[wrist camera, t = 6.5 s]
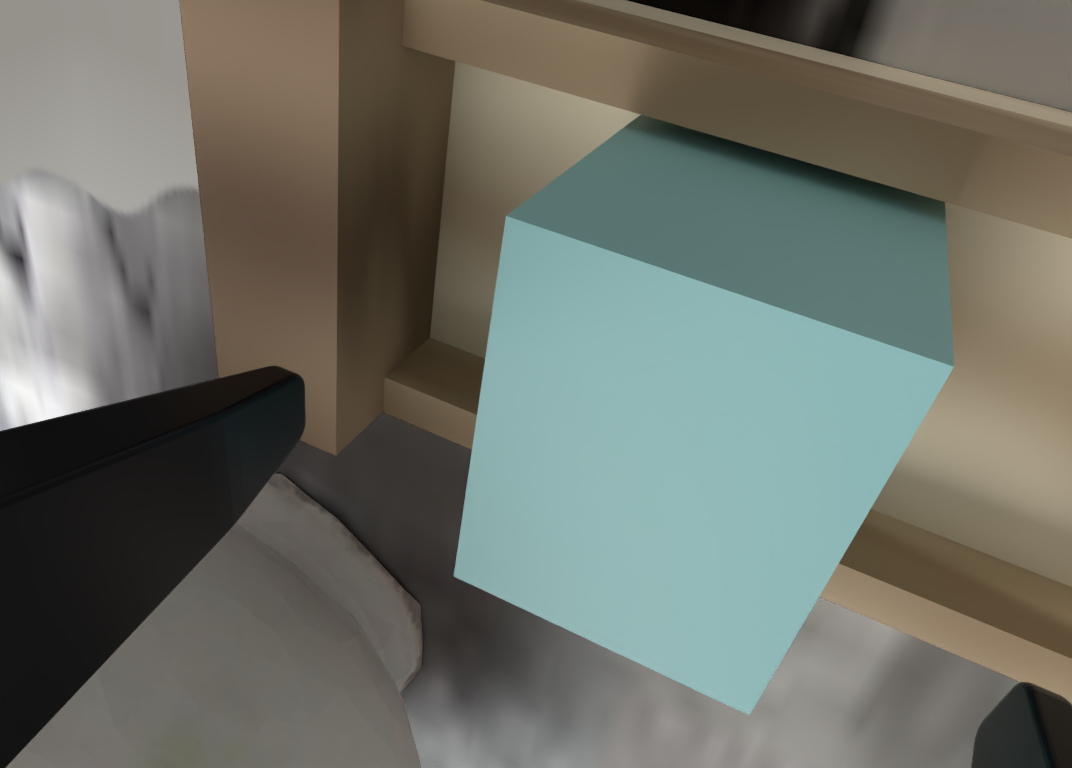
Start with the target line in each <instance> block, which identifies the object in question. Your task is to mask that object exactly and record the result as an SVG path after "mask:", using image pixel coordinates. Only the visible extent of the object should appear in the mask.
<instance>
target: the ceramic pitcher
mask: <svg viewBox="0 0 1072 768" xmlns="http://www.w3.org/2000/svg"><path fill="white" fill-rule="evenodd" d="M422 648H423V643H422V625H421V605H420V604H419V603H418V602H417V601H416V600H415V599H414V598H413V597H412V596H411V595H410V594H409V593H408V592H407V591H406V590H405V589H404V588H403V587H402V586H401V585H400V584H399V583H398V582H397V581H396V580H395V579H394V578H393V577H392V576H391V574H390V573H389V572H388V571H387V570H386V569H385V568H384V567H383V566H382V565H381V564H380V563H379V562H378V560H377V559H376V558H375V557H374V556H373V555H372V554H371V553H370V552H369V551H368V550H367V549H366V548H365V547H364V546H363V544H362V543H361V542H360V541H359V540H358V539H357V538H356V537H355V536H354V535H353V534H352V533H351V532H350V531H349V530H348V529H347V528H346V527H345V526H344V525H343V524H342V523H341V522H340V521H339V520H338V519H337V518H336V517H335V516H333V515H332V514H331V513H330V512H328V511H327V510H326V509H324V508H323V507H322V506H321V505H319V504H318V503H317V502H316V501H314V500H313V499H312V498H310V497H309V496H308V495H307V494H305V493H304V492H303V491H302V490H301V489H299V488H298V487H297V486H296V485H295V484H293V483H292V482H291V481H290V480H289V479H287V478H286V477H285V476H284V475H283V474H276V473H274V474H273V476H272V477H271V478H270V480H269V481H268V482H267V484H266V485H265V486H264V488H263V489H262V490H261V492H260V493H259V494H258V495H257V497H256V498H255V499H254V501H253V502H252V503H251V505H250V506H249V507H248V509H247V510H246V511H245V512H244V514H243V515H242V516H241V517H240V519H239V520H238V521H237V522H236V524H235V525H234V526H233V527H232V528H231V529H230V530H229V531H228V533H227V534H226V535H225V536H224V537H223V538H222V539H221V540H220V541H219V542H218V543H217V544H216V545H215V547H214V548H213V549H212V550H211V551H210V552H209V553H208V554H207V555H206V556H205V557H204V558H203V559H202V560H201V561H200V562H199V563H198V565H197V566H196V567H195V568H194V569H193V570H192V571H191V572H190V573H189V574H188V575H187V576H186V577H185V578H184V579H183V580H182V582H181V583H180V584H179V585H178V586H177V587H176V588H175V589H174V590H173V591H172V592H171V593H170V594H169V595H168V596H167V597H166V598H165V600H164V601H163V602H162V603H161V604H160V605H159V606H158V607H157V608H156V609H155V610H154V611H153V612H152V613H151V614H150V615H149V616H148V618H147V619H146V620H145V621H144V622H143V623H142V624H141V625H140V626H139V627H138V628H137V629H136V630H135V631H134V632H133V633H132V634H131V636H130V637H129V638H128V639H127V640H126V641H125V642H124V643H123V644H122V645H121V646H120V647H119V648H118V649H117V650H116V651H115V653H114V654H113V655H112V656H111V657H110V658H109V659H108V660H107V661H106V662H105V663H104V664H103V665H102V666H101V667H100V668H99V669H98V671H97V672H96V673H95V674H94V675H93V676H92V677H91V678H90V679H89V680H88V681H87V682H86V683H85V684H84V685H83V686H82V687H81V689H80V690H79V691H78V692H77V693H76V694H75V695H74V696H73V697H72V698H71V699H70V700H69V701H68V702H67V703H66V704H65V705H64V707H63V708H62V709H61V710H60V711H59V712H58V713H57V714H56V715H55V716H54V717H53V718H52V719H51V720H50V721H49V722H48V723H47V725H46V726H45V727H44V728H43V729H42V730H41V731H40V732H39V733H38V734H37V735H36V736H35V737H34V738H33V739H32V740H31V742H30V743H29V744H28V745H27V746H26V747H25V748H24V749H23V750H22V751H21V752H20V753H19V754H18V755H17V756H16V757H15V758H14V760H13V761H12V762H11V763H10V764H9V765H8V766H7V767H6V768H421V764H420V760H419V756H418V752H417V749H416V745H415V741H414V738H413V734H412V731H411V727H410V723H409V720H408V716H407V713H406V709H405V705H404V702H403V699H402V697H401V695H400V694H401V692H402V691H403V690H404V688H405V687H406V686H407V685H408V683H409V682H410V681H411V680H412V679H413V677H414V676H415V675H416V674H417V673H418V671H419V670H420V669H421V667H422Z"/></svg>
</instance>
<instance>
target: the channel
mask: <svg viewBox="0 0 1072 768" xmlns="http://www.w3.org/2000/svg"><path fill="white" fill-rule="evenodd" d="M179 2H180V11H181V21H182V30H183V40H184V50H185V59H186V69H187V78H188V88H189V97H190V107H191V117H192V125H193V136H194V145H195V155H196V164H197V173H198V184H199V193H200V203H201V212H202V222H203V231H204V241H205V250H206V260H207V270H208V279H209V289H210V298H211V308H212V317H213V327H214V336H215V346H216V356H217V365H218V375H219V378H222V377H226V376H230V375H234V374H238V373H242V372H247V371H251V370H255V369H259V368H263V367H267V366H272V365H275V366H280V367H282V368H285V369H287V370H290V371H292V372H294V373H297V374H299V375H300V376H301V377H302V378H303V380H304V383H305V409H306V425H305V429H304V432H303V435H302V437H301V438H300V440H301V441H303V442H305V443H307V444H310V445H312V446H314V447H316V448H319V449H321V450H323V451H325V452H328V453H330V454H332V455H334V456H337V455H338V454H339V453H340V452H341V451H342V450H343V449H344V448H345V447H346V446H347V445H348V444H350V443H351V442H352V441H353V440H354V439H355V438H356V437H357V436H358V435H359V434H360V433H361V432H362V431H363V430H364V429H365V428H366V427H368V426H369V425H370V424H371V423H372V422H373V421H374V420H375V419H376V418H377V417H378V416H379V415H380V414H381V413H382V412H384V413H386V414H388V415H391V416H393V417H395V418H398V419H400V420H403V421H405V422H407V423H410V424H412V425H414V426H417V427H419V428H421V429H424V430H426V431H429V432H431V433H433V434H436V435H438V436H440V437H443V438H445V439H448V440H450V441H452V442H455V443H457V444H459V445H462V446H464V447H466V448H469V449H471V450H472V446H473V439H474V433H475V426H476V419H477V412H478V405H479V398H480V391H481V384H482V378H483V371H484V364H485V357H486V350H487V343H488V336H489V330H490V323H491V316H492V309H493V302H494V295H495V288H496V281H497V275H498V268H499V261H500V254H501V247H502V240H503V233H504V227H505V220H506V216H507V215H508V214H509V213H511V212H512V211H513V210H515V209H516V208H517V207H519V206H520V205H521V204H523V203H524V202H525V201H527V200H528V199H529V198H531V197H532V196H533V195H535V194H536V193H537V192H539V191H540V190H541V189H543V188H544V187H545V186H547V185H548V184H549V183H551V182H552V181H553V180H554V179H556V178H557V177H558V176H560V175H561V174H562V173H564V172H565V171H566V170H568V169H569V168H570V167H572V166H573V165H574V164H576V163H577V162H578V161H580V160H581V159H582V158H584V157H585V156H586V155H588V154H589V153H590V152H592V151H593V150H594V149H596V148H597V147H598V146H600V145H601V144H602V143H604V142H605V141H606V140H608V139H609V138H610V137H612V136H613V135H614V134H616V133H617V132H618V131H620V130H621V129H622V128H624V127H625V126H626V125H628V124H629V123H630V122H632V121H633V120H634V119H636V118H637V117H638V116H640V115H644V116H648V117H651V118H655V119H658V120H662V121H665V122H669V123H672V124H676V125H679V126H683V127H686V128H690V129H693V130H696V131H700V132H703V133H707V134H710V135H714V136H717V137H721V138H724V139H728V140H731V141H735V142H738V143H742V144H745V145H749V146H752V147H755V148H759V149H762V150H766V151H769V152H773V153H776V154H780V155H783V156H787V157H790V158H794V159H797V160H801V161H804V162H808V163H811V164H815V165H818V166H821V167H825V168H828V169H832V170H835V171H839V172H842V173H846V174H849V175H853V176H856V177H860V178H863V179H867V180H870V181H874V182H877V183H880V184H884V185H887V186H891V187H894V188H898V189H901V190H905V191H908V192H912V193H915V194H919V195H922V196H926V197H929V198H933V199H936V200H939V201H943V202H945V212H946V230H947V248H948V266H949V284H950V302H951V320H952V339H953V357H954V368H953V369H952V371H951V373H950V375H949V376H948V378H947V380H946V381H945V383H944V385H943V386H942V388H941V390H940V392H939V393H938V395H937V397H936V398H935V400H934V402H933V404H932V405H931V407H930V409H929V410H928V412H927V414H926V415H925V417H924V419H923V421H922V422H921V424H920V426H919V427H918V429H917V431H916V432H915V434H914V436H913V438H912V439H911V441H910V443H909V444H908V446H907V448H906V449H905V451H904V453H903V455H902V456H901V458H900V460H899V461H898V463H897V465H896V467H895V468H894V470H893V472H892V473H891V475H890V477H889V478H888V480H887V482H886V484H885V485H884V487H883V489H882V490H881V492H880V494H879V495H878V497H877V499H876V501H875V502H874V504H873V506H872V507H871V509H870V511H869V512H868V514H867V516H866V518H865V519H864V521H863V523H862V524H861V526H860V528H859V530H858V531H857V533H856V535H855V536H854V538H853V540H852V541H851V543H850V545H849V547H848V548H847V550H846V552H845V553H844V555H843V557H842V558H841V560H840V562H839V564H838V565H837V567H836V569H835V570H834V572H833V574H832V576H831V577H830V579H829V581H828V582H827V584H826V586H825V587H824V589H823V591H822V593H821V594H820V596H819V597H821V598H824V599H826V600H828V601H831V602H833V603H835V604H838V605H840V606H843V607H845V608H847V609H850V610H852V611H854V612H857V613H859V614H861V615H864V616H866V617H869V618H871V619H873V620H876V621H878V622H880V623H883V624H885V625H887V626H890V627H892V628H895V629H897V630H899V631H902V632H904V633H906V634H909V635H911V636H914V637H916V638H918V639H921V640H923V641H925V642H928V643H930V644H932V645H935V646H937V647H940V648H942V649H944V650H947V651H949V652H951V653H954V654H956V655H958V656H961V657H963V658H966V659H968V660H970V661H973V662H975V663H977V664H980V665H982V666H984V667H987V668H989V669H992V670H994V671H996V672H999V673H1001V674H1003V675H1006V676H1008V677H1010V678H1013V679H1015V680H1018V681H1020V682H1030V683H1033V684H1035V685H1037V686H1040V687H1042V688H1044V689H1047V690H1049V691H1052V692H1054V693H1056V694H1059V695H1061V696H1062V697H1064V698H1066V699H1067V700H1068V701H1069V702H1070V703H1072V112H1068V111H1064V110H1060V109H1056V108H1052V107H1048V106H1044V105H1040V104H1036V103H1032V102H1028V101H1024V100H1020V99H1016V98H1012V97H1008V96H1004V95H1000V94H996V93H992V92H989V91H985V90H981V89H977V88H973V87H969V86H965V85H961V84H957V83H953V82H949V81H945V80H941V79H937V78H933V77H929V76H925V75H921V74H917V73H913V72H909V71H905V70H901V69H897V68H893V67H889V66H885V65H881V64H877V63H873V62H869V61H865V60H861V59H857V58H853V57H849V56H845V55H841V54H837V53H833V52H829V51H825V50H821V49H818V48H814V47H810V46H806V45H802V44H798V43H794V42H790V41H786V40H782V39H778V38H774V37H770V36H766V35H762V34H758V33H754V32H750V31H746V30H742V29H738V28H734V27H730V26H726V25H722V24H718V23H714V22H710V21H706V20H702V19H698V18H694V17H690V16H686V15H682V14H678V13H674V12H670V11H666V10H662V9H658V8H654V7H651V6H647V5H643V4H639V3H635V2H631V1H627V0H179Z"/></svg>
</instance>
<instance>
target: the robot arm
mask: <svg viewBox="0 0 1072 768" xmlns="http://www.w3.org/2000/svg"><path fill="white" fill-rule="evenodd" d="M305 425H306V409H305V383H304V380H303V378H302V377H301V376H300V375H299V374H297V373H294V372H292V371H290V370H287V369H285V368H282V367H280V366H275V365H272V366H267V367H263V368H259V369H255V370H251V371H247V372H242V373H238V374H234V375H230V376H226V377H222V378H218V379H214V380H209V381H205V382H201V383H197V384H193V385H189V386H185V387H181V388H176V389H172V390H168V391H164V392H160V393H156V394H152V395H147V396H143V397H139V398H135V399H131V400H127V401H123V402H119V403H114V404H110V405H106V406H102V407H98V408H94V409H90V410H85V411H81V412H77V413H73V414H69V415H65V416H61V417H56V418H52V419H48V420H44V421H40V422H36V423H32V424H28V425H23V426H19V427H15V428H11V429H7V430H3V431H0V768H6V767H7V766H8V765H9V764H10V763H11V762H12V761H13V760H14V758H15V757H16V756H17V755H18V754H19V753H20V752H21V751H22V750H23V749H24V748H25V747H26V746H27V745H28V744H29V743H30V742H31V740H32V739H33V738H34V737H35V736H36V735H37V734H38V733H39V732H40V731H41V730H42V729H43V728H44V727H45V726H46V725H47V723H48V722H49V721H50V720H51V719H52V718H53V717H54V716H55V715H56V714H57V713H58V712H59V711H60V710H61V709H62V708H63V707H64V705H65V704H66V703H67V702H68V701H69V700H70V699H71V698H72V697H73V696H74V695H75V694H76V693H77V692H78V691H79V690H80V689H81V687H82V686H83V685H84V684H85V683H86V682H87V681H88V680H89V679H90V678H91V677H92V676H93V675H94V674H95V673H96V672H97V671H98V669H99V668H100V667H101V666H102V665H103V664H104V663H105V662H106V661H107V660H108V659H109V658H110V657H111V656H112V655H113V654H114V653H115V651H116V650H117V649H118V648H119V647H120V646H121V645H122V644H123V643H124V642H125V641H126V640H127V639H128V638H129V637H130V636H131V634H132V633H133V632H134V631H135V630H136V629H137V628H138V627H139V626H140V625H141V624H142V623H143V622H144V621H145V620H146V619H147V618H148V616H149V615H150V614H151V613H152V612H153V611H154V610H155V609H156V608H157V607H158V606H159V605H160V604H161V603H162V602H163V601H164V600H165V598H166V597H167V596H168V595H169V594H170V593H171V592H172V591H173V590H174V589H175V588H176V587H177V586H178V585H179V584H180V583H181V582H182V580H183V579H184V578H185V577H186V576H187V575H188V574H189V573H190V572H191V571H192V570H193V569H194V568H195V567H196V566H197V565H198V563H199V562H200V561H201V560H202V559H203V558H204V557H205V556H206V555H207V554H208V553H209V552H210V551H211V550H212V549H213V548H214V547H215V545H216V544H217V543H218V542H219V541H220V540H221V539H222V538H223V537H224V536H225V535H226V534H227V533H228V531H229V530H230V529H231V528H232V527H233V526H234V525H235V524H236V522H237V521H238V520H239V519H240V517H241V516H242V515H243V514H244V512H245V511H246V510H247V509H248V507H249V506H250V505H251V503H252V502H253V501H254V499H255V498H256V497H257V495H258V494H259V493H260V492H261V490H262V489H263V488H264V486H265V485H266V484H267V482H268V481H269V480H270V478H271V477H272V476H273V474H274V473H275V472H276V470H277V469H278V468H279V467H280V465H281V464H282V463H283V461H284V460H285V459H286V457H287V456H288V455H289V453H290V452H291V451H292V449H293V448H294V447H295V446H296V444H297V443H298V442H299V440H300V438H301V437H302V435H303V432H304V429H305ZM971 768H1072V705H1071V704H1070V702H1069V701H1068V700H1067V699H1066V698H1064V697H1062V696H1061V695H1059V694H1056V693H1054V692H1052V691H1049V690H1047V689H1044V688H1042V687H1040V686H1037V685H1035V684H1033V683H1030V682H1021V683H1019V684H1017V685H1016V686H1015V687H1013V688H1012V689H1011V690H1010V692H1009V693H1008V694H1007V695H1006V696H1005V697H1004V698H1003V699H1002V700H1001V701H1000V702H999V703H998V705H997V706H996V707H995V708H994V709H993V710H992V711H991V712H990V713H989V714H988V715H987V716H986V718H985V719H984V720H983V721H982V723H981V724H980V726H979V728H978V731H977V734H976V737H975V742H974V749H973V757H972V765H971Z"/></svg>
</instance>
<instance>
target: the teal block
mask: <svg viewBox="0 0 1072 768" xmlns="http://www.w3.org/2000/svg"><path fill="white" fill-rule="evenodd" d="M953 368H954V357H953V339H952V320H951V302H950V284H949V266H948V248H947V230H946V212H945V202H943V201H939V200H936V199H933V198H929V197H926V196H922V195H919V194H915V193H912V192H908V191H905V190H901V189H898V188H894V187H891V186H887V185H884V184H880V183H877V182H874V181H870V180H867V179H863V178H860V177H856V176H853V175H849V174H846V173H842V172H839V171H835V170H832V169H828V168H825V167H821V166H818V165H815V164H811V163H808V162H804V161H801V160H797V159H794V158H790V157H787V156H783V155H780V154H776V153H773V152H769V151H766V150H762V149H759V148H755V147H752V146H749V145H745V144H742V143H738V142H735V141H731V140H728V139H724V138H721V137H717V136H714V135H710V134H707V133H703V132H700V131H696V130H693V129H690V128H686V127H683V126H679V125H676V124H672V123H669V122H665V121H662V120H658V119H655V118H651V117H648V116H644V115H640V116H638V117H637V118H636V119H634V120H633V121H632V122H630V123H629V124H628V125H626V126H625V127H624V128H622V129H621V130H620V131H618V132H617V133H616V134H614V135H613V136H612V137H610V138H609V139H608V140H606V141H605V142H604V143H602V144H601V145H600V146H598V147H597V148H596V149H594V150H593V151H592V152H590V153H589V154H588V155H586V156H585V157H584V158H582V159H581V160H580V161H578V162H577V163H576V164H574V165H573V166H572V167H570V168H569V169H568V170H566V171H565V172H564V173H562V174H561V175H560V176H558V177H557V178H556V179H554V180H553V181H552V182H551V183H549V184H548V185H547V186H545V187H544V188H543V189H541V190H540V191H539V192H537V193H536V194H535V195H533V196H532V197H531V198H529V199H528V200H527V201H525V202H524V203H523V204H521V205H520V206H519V207H517V208H516V209H515V210H513V211H512V212H511V213H509V214H508V215H507V216H506V220H505V227H504V233H503V240H502V247H501V254H500V261H499V268H498V275H497V281H496V288H495V295H494V302H493V309H492V316H491V323H490V330H489V336H488V343H487V350H486V357H485V364H484V371H483V378H482V384H481V391H480V398H479V405H478V412H477V419H476V426H475V433H474V439H473V446H472V453H471V460H470V467H469V474H468V481H467V487H466V494H465V501H464V508H463V515H462V522H461V529H460V535H459V542H458V549H457V556H456V563H455V570H454V577H456V578H458V579H460V580H462V581H464V582H467V583H469V584H471V585H473V586H475V587H477V588H479V589H481V590H484V591H486V592H488V593H490V594H492V595H494V596H496V597H498V598H501V599H503V600H505V601H507V602H509V603H511V604H513V605H515V606H518V607H520V608H522V609H524V610H526V611H528V612H530V613H533V614H535V615H537V616H539V617H541V618H543V619H545V620H547V621H550V622H552V623H554V624H556V625H558V626H560V627H562V628H564V629H567V630H569V631H571V632H573V633H575V634H577V635H579V636H581V637H584V638H586V639H588V640H590V641H592V642H594V643H596V644H598V645H601V646H603V647H605V648H607V649H609V650H611V651H613V652H615V653H618V654H620V655H622V656H624V657H626V658H628V659H630V660H632V661H635V662H637V663H639V664H641V665H643V666H645V667H647V668H649V669H652V670H654V671H656V672H658V673H660V674H662V675H664V676H666V677H669V678H671V679H673V680H675V681H677V682H679V683H681V684H684V685H686V686H688V687H690V688H692V689H694V690H696V691H698V692H701V693H703V694H705V695H707V696H709V697H711V698H713V699H715V700H718V701H720V702H722V703H724V704H726V705H728V706H730V707H732V708H735V709H737V710H739V711H741V712H743V713H745V714H747V715H750V713H751V712H752V710H753V708H754V707H755V705H756V703H757V702H758V700H759V698H760V696H761V695H762V693H763V691H764V690H765V688H766V686H767V684H768V683H769V681H770V679H771V678H772V676H773V674H774V673H775V671H776V669H777V667H778V666H779V664H780V662H781V661H782V659H783V657H784V656H785V654H786V652H787V650H788V649H789V647H790V645H791V644H792V642H793V640H794V639H795V637H796V635H797V633H798V632H799V630H800V628H801V627H802V625H803V623H804V621H805V620H806V618H807V616H808V615H809V613H810V611H811V610H812V608H813V606H814V604H815V603H816V601H817V599H818V598H819V596H820V594H821V593H822V591H823V589H824V587H825V586H826V584H827V582H828V581H829V579H830V577H831V576H832V574H833V572H834V570H835V569H836V567H837V565H838V564H839V562H840V560H841V558H842V557H843V555H844V553H845V552H846V550H847V548H848V547H849V545H850V543H851V541H852V540H853V538H854V536H855V535H856V533H857V531H858V530H859V528H860V526H861V524H862V523H863V521H864V519H865V518H866V516H867V514H868V512H869V511H870V509H871V507H872V506H873V504H874V502H875V501H876V499H877V497H878V495H879V494H880V492H881V490H882V489H883V487H884V485H885V484H886V482H887V480H888V478H889V477H890V475H891V473H892V472H893V470H894V468H895V467H896V465H897V463H898V461H899V460H900V458H901V456H902V455H903V453H904V451H905V449H906V448H907V446H908V444H909V443H910V441H911V439H912V438H913V436H914V434H915V432H916V431H917V429H918V427H919V426H920V424H921V422H922V421H923V419H924V417H925V415H926V414H927V412H928V410H929V409H930V407H931V405H932V404H933V402H934V400H935V398H936V397H937V395H938V393H939V392H940V390H941V388H942V386H943V385H944V383H945V381H946V380H947V378H948V376H949V375H950V373H951V371H952V369H953Z"/></svg>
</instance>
